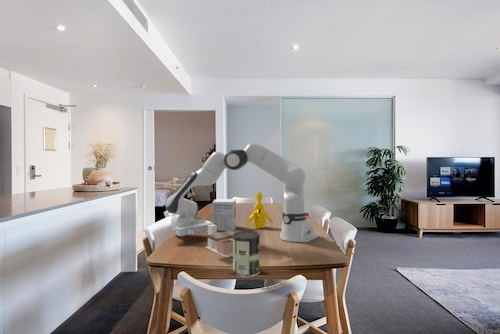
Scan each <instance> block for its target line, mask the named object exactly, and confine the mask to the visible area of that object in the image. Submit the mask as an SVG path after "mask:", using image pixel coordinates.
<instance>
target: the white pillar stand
mask: <svg viewBox="0 0 500 334" xmlns="http://www.w3.org/2000/svg"><path fill="white" fill-rule="evenodd" d="M216 233H218V231H217V225H214V224H212V225H208V231H207V236H208V235H211V234H216ZM204 248H206V249H208V250H210V251H212V252H214V253H216V254H219V255H221V256H223V257H225V258H229V257H233V253H229V254H226V255H222V254H220V253H218V252H217V241H214V240H212V239H209V238H208V237H207V246H204Z"/></svg>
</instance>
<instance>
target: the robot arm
mask: <svg viewBox="0 0 500 334" xmlns="http://www.w3.org/2000/svg"><path fill="white" fill-rule="evenodd" d="M247 163H249V164H252V165H253V166H256V167H258V168H259V169H261V170H263V171H264V172H266V173H267V174H269V175H271V176H272V177H273V178H276V179H277V180H278V181H280V182H282V185H283V187H282V188H283V189H282V191H283V195H282V196H283V206H282V207H283V211H282V222H281V229H280V231H281V232H280V234H279V236H280V237H279V239H281V240H282V241H285V242H292V243H308V242H311V241H313V240H315V239H317V238H319V234H318V233H316V232H315V227H314V225H313V223H311V222H310V221H309V220H307V217H310V213H309V212H305V193H304V184H305V181H306V179H307V177H306V172H305V171H304V170H303V169H302V168H301V167H299V166H298V165H296V164H294V163H292V162H291V161H288V159H285V158H283V157H282V156H280V155H278V154H276V153H275V152H274V151H272V150H270V149H269V148H266V147H265V146H262V145H260V144H258V143H257V142H256V143H255V142H250V143H248V144H247V145H246V146H245V148H244V149H230V150H228V151H227V152H226V153H223V152H220V151H214V152H212V153H211V155H210V156H209V157H208V158H207V159H206V161H205V162H204V163H203V165H202V166H201V168H199V169H198V170H197V171H195V172H191V173H190V174H189V175H188V176H186V178H185V179H184V181H182V182H181V184H180V185H179V186H178V188H177V189H176V190H175V191H174V192H173V193H172V194H171V195H169V197H168V198H167V199H166V201H165V203H164V206H165V210H166V211H167V213H169V214H173V216H172V218H171V220H170V223H171V226H172V229H171V231H172V232H175V235H176V236H178V237H183V236H194V235H196V234H198V233H204V232H208V225H212V224H213V223H212V221H209V220H205V218H202V217H199V218H197V216H198V214H199V206H198V203H197V202H195V201H193V200H190V199H187V198H185V195H187V193H188V192H189V191H190V189H192V188H194V187H199V186H211V185H213V184H214V185H215V183H216V182H218V180H219V178H220V176H221V175H222V174H223V172H224V171H225V169H226V168H227V169H229V170H231V171H236V170H237V171H238V170H241V169H242V168H243V167H245V166H246V165H247Z"/></svg>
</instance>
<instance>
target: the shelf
mask: <svg viewBox="0 0 500 334" xmlns="http://www.w3.org/2000/svg"><path fill="white" fill-rule="evenodd" d="M237 232H243V231H241V230H238V229H234V230H231V231H220V232H217V233H216V234H211V235H208V234H207V239H208V238H209V239H212V240H214V241H221V240H226V239H228V240H231V239H233V234H234V233H237Z"/></svg>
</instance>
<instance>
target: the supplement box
mask: <svg viewBox="0 0 500 334" xmlns="http://www.w3.org/2000/svg"><path fill="white" fill-rule="evenodd" d="M211 208H212V210H211V213H212V214H211V216H212V217H211V220H212V221H211V222H212V223H213V224H214V225H217V232H218V231H219V232H226V231H231V230H236V227H237V199H235V198H215V199H214V200H213V201H212V205H211Z"/></svg>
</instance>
